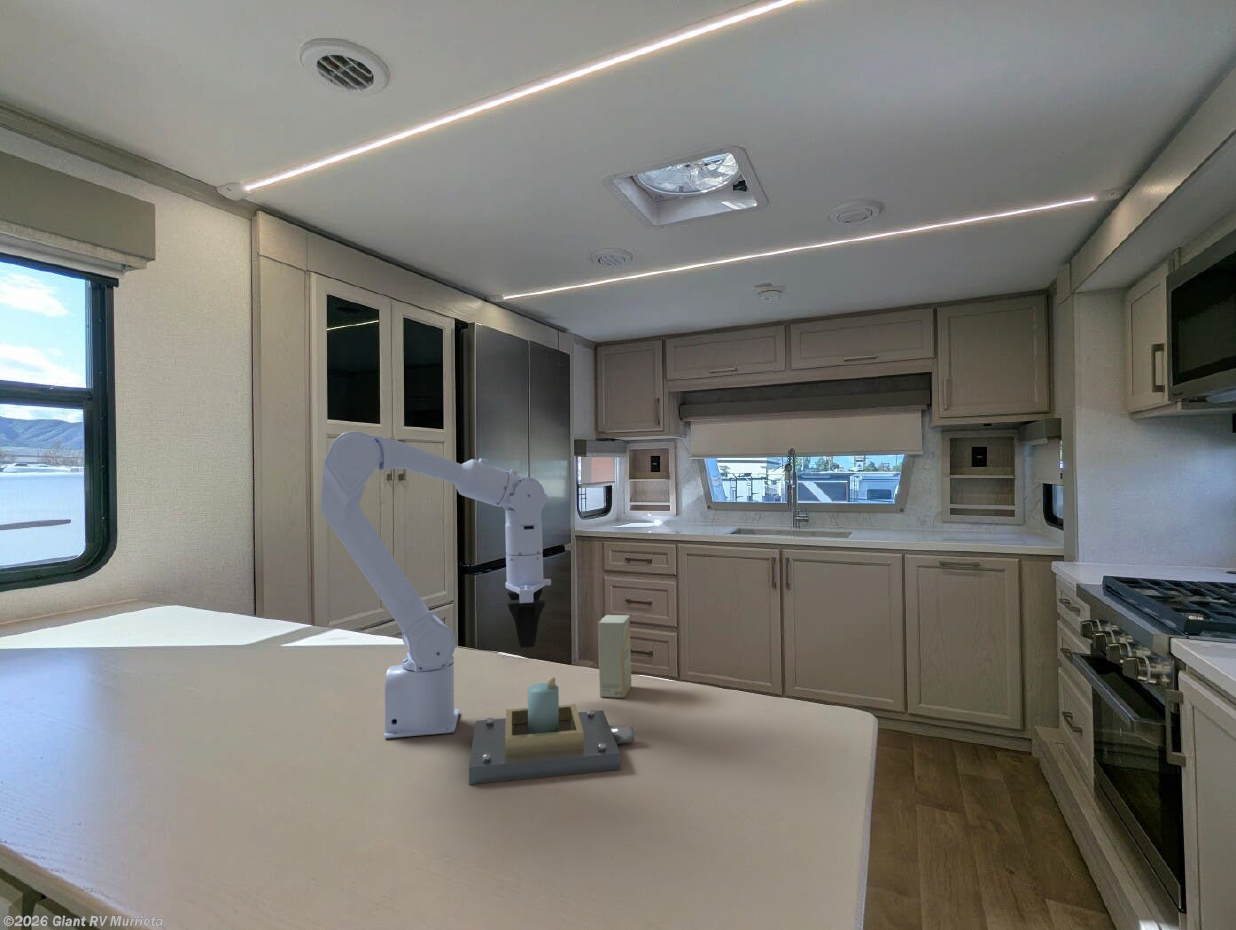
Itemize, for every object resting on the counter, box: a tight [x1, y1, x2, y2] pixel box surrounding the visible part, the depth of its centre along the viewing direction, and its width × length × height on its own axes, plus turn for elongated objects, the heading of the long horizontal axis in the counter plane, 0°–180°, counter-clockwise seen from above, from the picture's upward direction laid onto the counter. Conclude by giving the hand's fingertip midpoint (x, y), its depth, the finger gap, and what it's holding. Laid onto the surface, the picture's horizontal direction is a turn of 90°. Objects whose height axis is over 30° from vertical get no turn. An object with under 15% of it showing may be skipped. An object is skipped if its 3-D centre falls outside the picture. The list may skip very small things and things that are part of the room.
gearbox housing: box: [468, 703, 635, 786], centre depth 80 cm, size 21×14×4 cm, turn 100°
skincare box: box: [597, 614, 632, 699], centre depth 101 cm, size 6×4×12 cm
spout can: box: [527, 676, 560, 734], centre depth 79 cm, size 4×4×7 cm
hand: (526, 640), depth 95 cm, fingers open, 7 cm apart
